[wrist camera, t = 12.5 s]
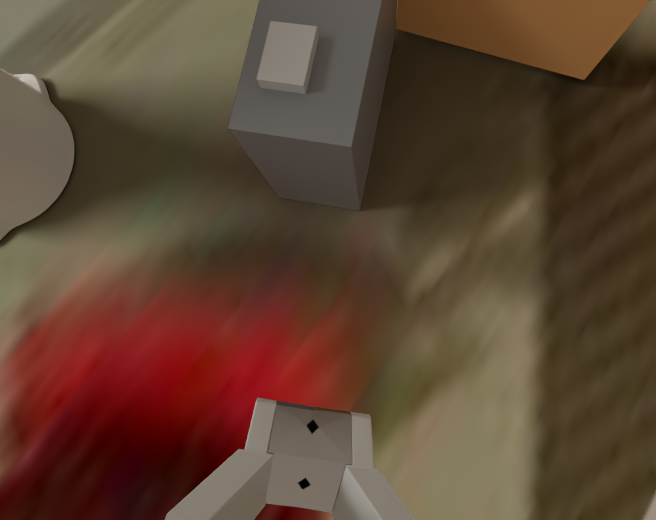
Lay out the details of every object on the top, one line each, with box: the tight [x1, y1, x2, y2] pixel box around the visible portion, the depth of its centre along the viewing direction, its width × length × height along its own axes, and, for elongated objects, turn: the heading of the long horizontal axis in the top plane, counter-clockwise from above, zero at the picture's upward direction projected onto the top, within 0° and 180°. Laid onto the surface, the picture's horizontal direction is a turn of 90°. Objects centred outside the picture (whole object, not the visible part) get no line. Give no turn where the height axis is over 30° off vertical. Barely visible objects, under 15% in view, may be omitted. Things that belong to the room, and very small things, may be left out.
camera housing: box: [228, 0, 397, 211], centre depth 36 cm, size 8×19×16 cm, turn 168°
